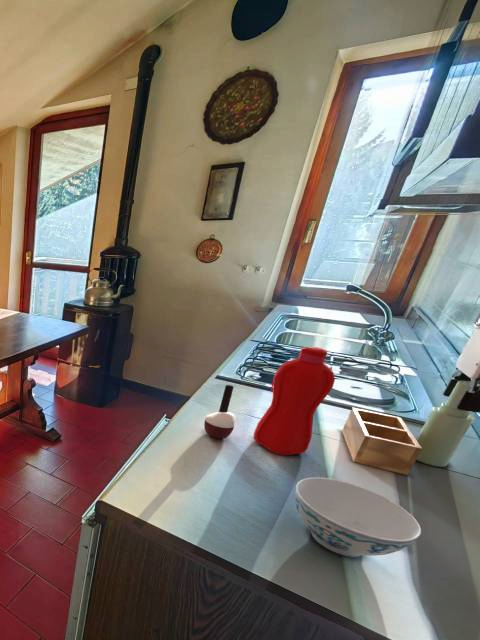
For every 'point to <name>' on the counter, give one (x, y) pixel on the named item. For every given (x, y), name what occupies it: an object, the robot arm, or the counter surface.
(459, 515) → the counter surface
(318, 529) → the chinaware
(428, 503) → the counter surface
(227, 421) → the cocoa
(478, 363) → the robot arm
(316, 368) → the red plastic tall container
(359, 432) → the box
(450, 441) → the bottle
